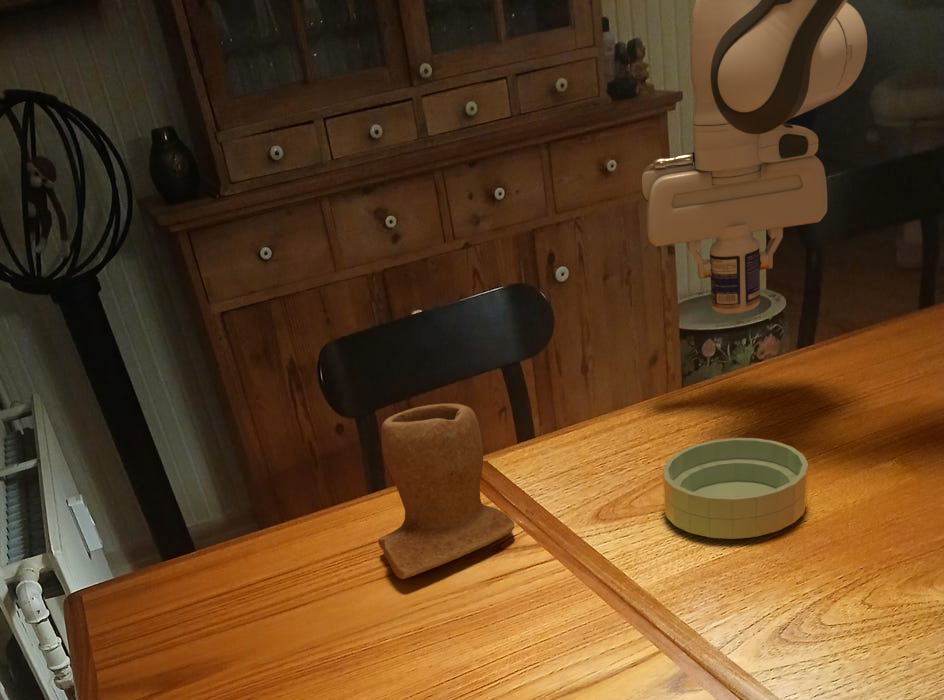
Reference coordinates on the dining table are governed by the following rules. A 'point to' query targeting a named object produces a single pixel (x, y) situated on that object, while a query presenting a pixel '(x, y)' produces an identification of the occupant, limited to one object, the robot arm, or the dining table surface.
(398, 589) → the dining table surface
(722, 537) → the bowl
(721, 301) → the pill bottle
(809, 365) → the dining table surface
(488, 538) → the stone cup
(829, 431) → the dining table surface
